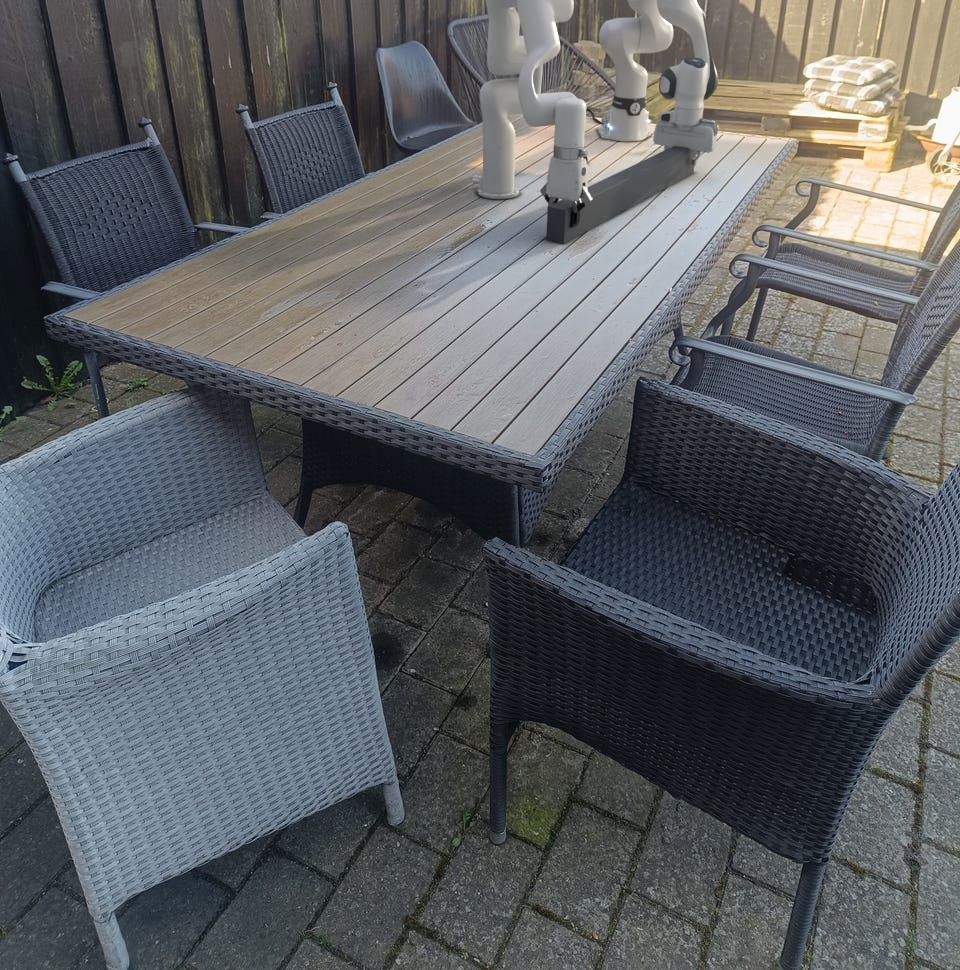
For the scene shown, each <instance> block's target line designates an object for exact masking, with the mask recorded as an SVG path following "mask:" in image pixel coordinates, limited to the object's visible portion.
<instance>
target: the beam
mask: <svg viewBox="0 0 960 970" xmlns="http://www.w3.org/2000/svg"><path fill="white" fill-rule="evenodd" d="M696 156H697V154H696V151H694V150H689V148H682V147H676V146H673V147H670V148H668V149H666V150H664V149H663V150H662V151H660V152H658V153H656V154H654V155H652V156H650V157H647V158H645V159H643V160H641V161H639V162H637V163H635V164H632V165H631V166H629V167H627V168H624V169H622V170H621V171H618V172H616V173H613V174H612V175H610V176H608V177H606V178H604V179H601V180H600V181H597V182H595V183H593V184H591V185H588V190H587V191H588V192H589V194H590V196H591V197H592V201H591V202H590V203H589V204H587V205H586V206H585V207H584V208H583V209H582V210H581V211H580V222H579V224H578V225H577V226H575V227H574V228H572V227H570V224H571V213H572V212H573V207H572V203H571V201H570V200H565V199H559V200H558V202H556V203H554V204H551V205H549V206H548V205H547V209H546V212H547V213H546V229H545V230H546V231H545V240H546V241H551V242H555V243H559V244H563V245H564V244H567V242H569V241H572V240H574V239H575V238H577V237H579V236H580V235H582V234H584V233H587V232H588V231H590V230H592V229H593V228H595V227H597V226H599V225H601V224H603V223H605V222H606V221H608V220H610V219H612V218H614V217H615V216H617V215H619V214H621V213H623V212H625V211H626V210H628V209H630V208H633V206H636V205H637V204H639V203H641V202H643V201H645V200H646V199H649V198H650V197H652V196H654V195H655V194H657V193H659V192H661V191H664V190H665V189H667V188H668V187H670V186H673V185H674V184H676V183H678V182H679V181H681V180H683V179H685V178H687V177H688V176H690V175H692V174H694V172H695V165H691V163H692V159H694V158H696ZM583 201H584V198H581V203H582V202H583Z"/></svg>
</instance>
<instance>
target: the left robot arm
mask: <svg viewBox="0 0 960 970" xmlns="http://www.w3.org/2000/svg"><path fill="white" fill-rule="evenodd" d="M574 2H575V1H574V0H485V5H486V10H487V16H488V26H487V27H488V29H487V30H488V31H487V47H486V66H487V69H488V71H489V73H491V74H492V75H494V76H511V75H512V76H515V75H519V76H518V77H512V78H511V77H509V78H508V77H507V78H496V79H491V80H488V81H486V82H485V83H484V84H483V85H482V86H481V87H480V90H479V105H480V111H481V118H482V176H481V175H477V174H474V175H473V176H472V184H476V185H479V187H478V188H477V195H479V196H480V197H483V198H485V199H489V200H507V199H512V198H515V197H518V196H519V194H520V188H519V187H518V186H515V176H516V175H515V174H516V173H515V172H516V171H515V170H516V168H515V167H516V130H515V128H514V125H513V124H512V122H511V121H510V119H509V116H513V115H515V116H516V115H522V116H523V119H524V121H525V123H526V124H527V125H528V126H530V127H534V128H537V127H538V128H539V127H549V126H554V134H553V136H554V137H553V150H552V151H553V155H552V156H550V160H549V164H548V169H547V175H546V183H545V184H544V185H543V186H542V187H541V188H540V189H539V193H541V195H542V197H544V200H545V201H546V203H547V207H548V206H549V205H551V204H554V203H556V202H558V201H560V200H562V199H565V200H570V201H571V203H572V207H573V212H572V213H571V224H570V227H572V228H574V227H575V226H577V225H578V224H579V222H580V211H581V210H582V209H583V208H584V207H585V206H586V205H587V204H589V203H590V202H591V201H592V197H591V196H590V194H589V192H588V191H587V190H588V187H589V183H588V182H589V175H588V173H589V172H588V162H587V163H586V159H585V158H583V157H584V156H587V157H588V153H589V152H588V150H585V134H586V118H587V112H586V109H587V103H586V102H585V101H584V100H583V99H581V98H578V97H577V96H576V95H574V93H572V92H570V91H558V92H544V93H541V91H542V80H543V72H544V65H545V64H546V63H548V62H550V61H551V60H553V59H554V58H555V57H557V55H558V54H559V53H560V52H561V51H560V50H561V42H560V38H559V33H558V29H557V24H558V23H566V22H568V21H569V20H570V19H571V18H572V16H573V14H574V8H575V3H574ZM516 8H517V9H516ZM556 23H557V24H556ZM520 29H521V33H522V35H520ZM581 198H584V201H583V202H582V203H581Z"/></svg>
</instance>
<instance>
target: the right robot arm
mask: <svg viewBox="0 0 960 970" xmlns="http://www.w3.org/2000/svg"><path fill="white" fill-rule="evenodd" d="M627 3H628V5H629V7H630V8H631V10H633V11H634V12H635V13H637V14H639V15H640V16H638V17H615V18H611V19H608V20H606V21H604V22H603V24H602V26H600V29H599V33H598V42H599V45H600V47H601V49H602V50H603V51H604V52H605V53H606V54H607V55H608V56H609V58H610V60H611V61H612V64H613V66H614V70H615V71H614V72H615V90H614V94H613V98H612V101H611V107H610V108H609V109H608V110H607V111H606V113H605V114H604V116H602V117H601V120H599V119H597V118H596V115H595V113H594V112H593V110H591V108H586V113H590V115H591V116H592V117H591V119H592V120H593V121H594V122H595V123H598V124H600V125H599V126H597V132H598V134H599V135H600V137H601V138H602V139H603V140H613V141H620V142H638V141H643V140H646V138H649V137H651V136H652V135H651V134H652V133H651V132H650V131H649V123H651V120H650V119H649V111H647V110H646V107H647V102H648V100H647V99H648V96H647V87H648V78H649V75H648V71H647V69H646V68H645V67H644V66H642V65H641V64H640V63H637V62H635V60H634V55H635V54H656V53H659V52H663V51H666V50H667V49H668V48H669V47H670V46H671V44H672V42H673V39H674V28H673V26H675V27H677V28H680V29H682V30H684V32H686V33H687V34H688V36H689V37H690V38H691V42H692V48H693V54H694V56H690V57H685V58H683V60H681V62H680V63H679V64H676V65H674V66H670V67H667V68H665V69H664V70H663V72H662V73H661V75H660V77H659V81H658V90H659V93H660V95H661V96H662V97H663V98H664V99H665V100H669V101H675V103H674V108H673V109H669V110H666V111H662V112H661V113H659V114H658V116H657V120H658V122H657V123H656V124H655V127H654V130H653V131H654V132H653V137H652V141H653V144H654V145H659V146H663V151H664V150H666V149H668V148H670V147H673V146H676V147H682V148H689V150H694V151H696V158H694V159H692V163H691V165H695V166H698V164H699V159H700V158H701V156H702V155H703V153H708V154H709V153H712V152H714V151H715V150H716V148H717V138H718V132H719V123H717V122H716V121H715V120H714V119H706V118H703V114H704V108H705V103H704V101H706V100H708V99H709V98H711V96H713V94H714V93H715V92H716V90H717V88H718V85H719V75H718V71H717V68H716V65H715V62H714V55H713V50H712V44H711V39H710V32H709V27H708V26H709V25H708V20H707V16H706V12H705V11H704V9H703V8H702V7H700V5H699V4H698V2H697V0H627ZM695 166H694V167H695Z"/></svg>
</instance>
